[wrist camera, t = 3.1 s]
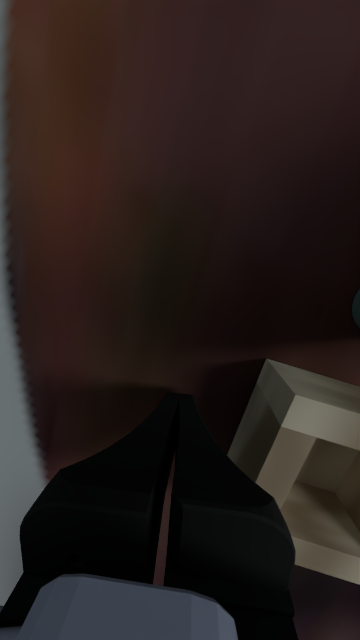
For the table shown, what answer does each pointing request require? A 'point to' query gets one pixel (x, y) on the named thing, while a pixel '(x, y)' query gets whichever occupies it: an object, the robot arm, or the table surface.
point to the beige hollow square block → (307, 462)
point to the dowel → (356, 308)
